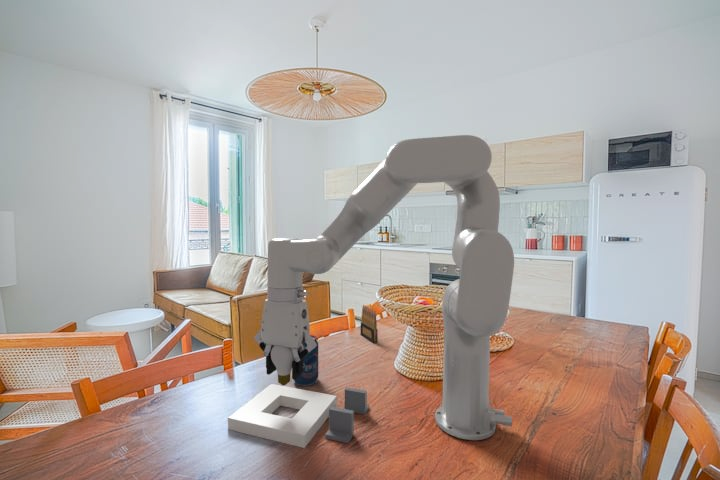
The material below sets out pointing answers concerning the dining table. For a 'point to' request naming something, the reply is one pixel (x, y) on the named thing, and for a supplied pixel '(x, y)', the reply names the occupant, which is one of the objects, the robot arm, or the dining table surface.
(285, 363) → the light bulb
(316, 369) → the soda can
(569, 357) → the dining table surface
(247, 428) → the socket board
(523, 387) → the dining table surface
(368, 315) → the colored pencil box
